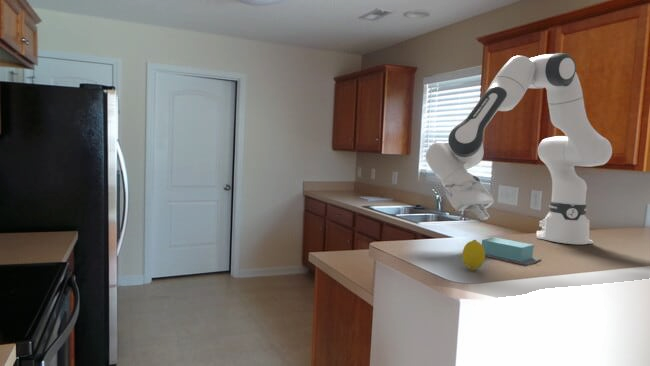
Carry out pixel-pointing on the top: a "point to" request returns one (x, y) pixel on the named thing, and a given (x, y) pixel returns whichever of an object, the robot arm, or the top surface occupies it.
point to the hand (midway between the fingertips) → (485, 218)
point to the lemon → (473, 255)
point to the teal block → (508, 249)
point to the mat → (525, 262)
